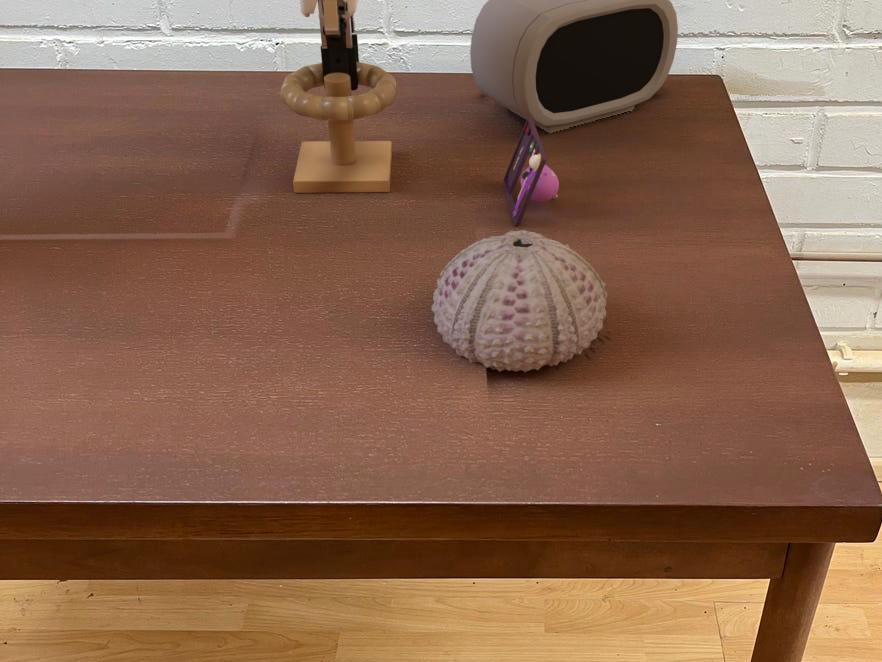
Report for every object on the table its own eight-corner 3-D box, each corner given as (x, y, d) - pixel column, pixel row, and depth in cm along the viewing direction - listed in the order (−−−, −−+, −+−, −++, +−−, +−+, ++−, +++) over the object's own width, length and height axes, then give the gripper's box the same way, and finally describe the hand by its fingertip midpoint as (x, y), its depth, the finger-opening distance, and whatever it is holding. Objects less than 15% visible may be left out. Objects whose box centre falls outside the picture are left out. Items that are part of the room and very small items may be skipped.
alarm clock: (520, 146, 103) (525, 8, 95) (470, 115, 109) (470, -18, 100) (671, 105, 112) (689, -25, 103) (617, 78, 118) (629, -47, 109)
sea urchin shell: (416, 378, 73) (412, 282, 68) (446, 283, 83) (445, 192, 78) (599, 395, 72) (609, 298, 67) (607, 296, 82) (617, 205, 77)
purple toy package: (520, 113, 93) (535, 155, 86) (572, 130, 94) (589, 172, 88) (495, 179, 97) (507, 223, 90) (544, 194, 99) (559, 238, 92)
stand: (294, 193, 95) (282, 96, 89) (303, 152, 102) (292, 59, 96) (389, 192, 96) (384, 95, 89) (392, 152, 102) (387, 59, 96)
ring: (276, 124, 90) (273, 102, 89) (289, 79, 98) (286, 58, 97) (395, 123, 90) (393, 101, 89) (398, 78, 98) (397, 57, 97)
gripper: (289, -155, 91) (310, 54, 103) (268, -114, 79) (295, 117, 91) (372, -155, 91) (384, 53, 103) (364, -115, 79) (378, 116, 91)
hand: (342, 81), depth 97 cm, fingers closed on ring, 2 cm apart
